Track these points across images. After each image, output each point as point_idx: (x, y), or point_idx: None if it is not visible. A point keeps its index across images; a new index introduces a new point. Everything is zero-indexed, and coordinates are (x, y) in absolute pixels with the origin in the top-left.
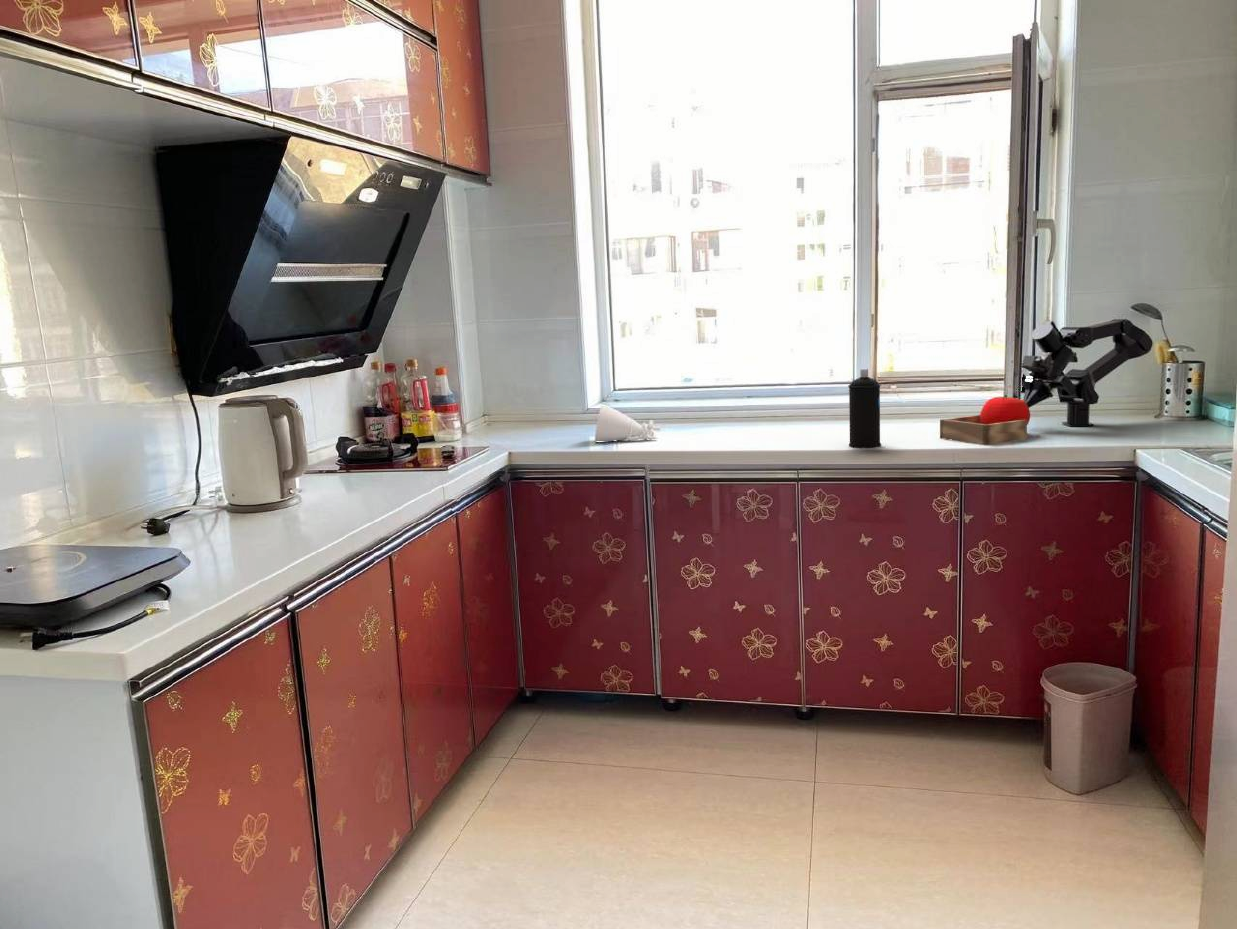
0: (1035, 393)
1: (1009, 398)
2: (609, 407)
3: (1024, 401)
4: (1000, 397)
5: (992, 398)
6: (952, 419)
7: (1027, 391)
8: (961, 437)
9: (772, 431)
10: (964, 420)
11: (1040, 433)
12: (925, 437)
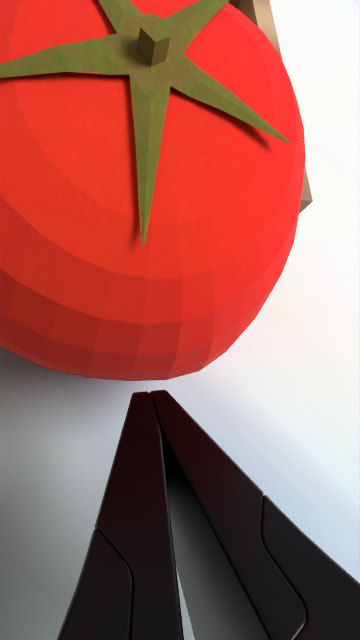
0: (58, 637)
1: (38, 4)
2: None
3: (178, 430)
4: (188, 31)
5: (243, 21)
6: (252, 13)
7: (297, 596)
8: None
9: None
10: None
11: (37, 469)
12: None
